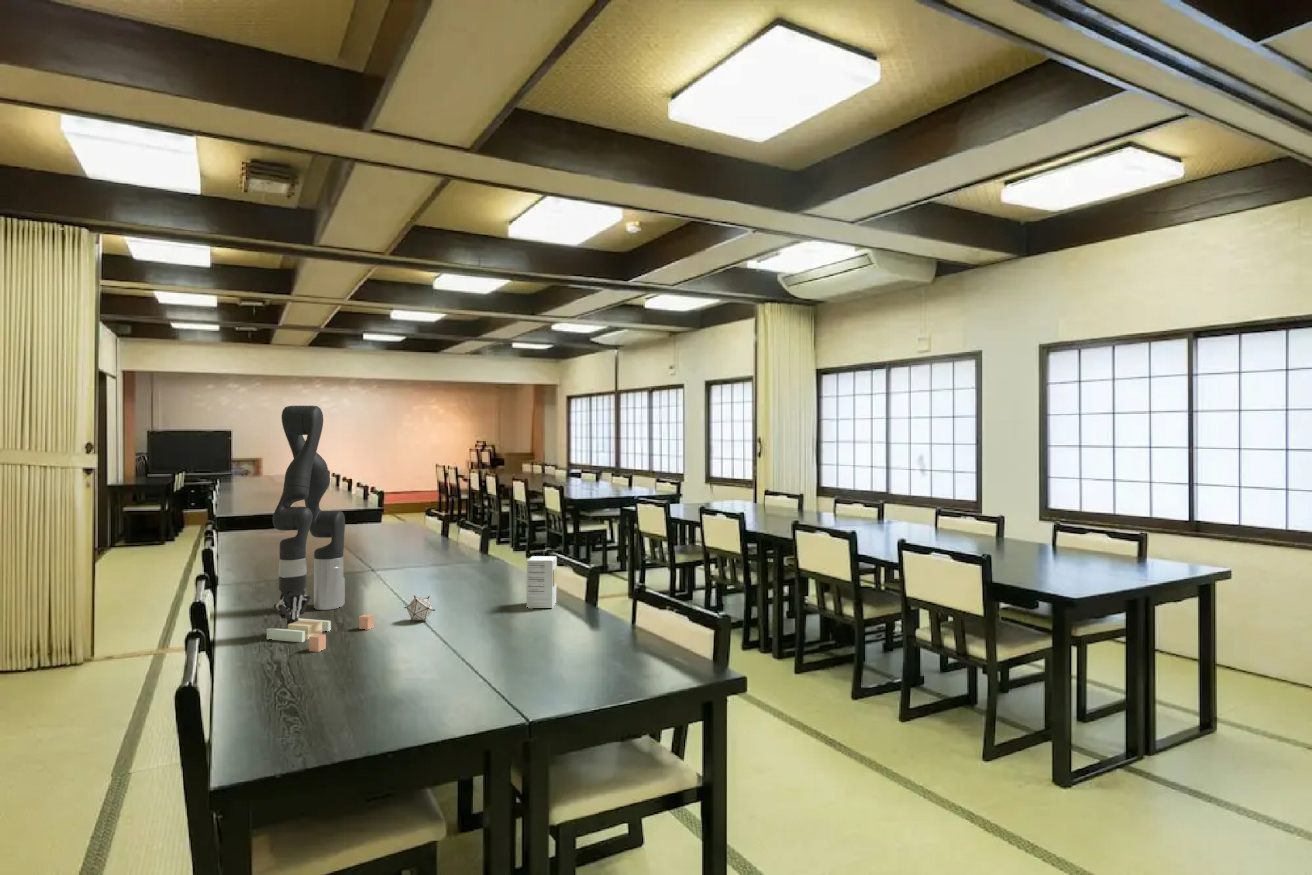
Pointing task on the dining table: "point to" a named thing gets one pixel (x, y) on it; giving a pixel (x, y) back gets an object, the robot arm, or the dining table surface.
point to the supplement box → (541, 581)
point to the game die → (419, 608)
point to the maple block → (307, 627)
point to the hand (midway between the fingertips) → (292, 630)
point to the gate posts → (319, 640)
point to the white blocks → (293, 632)
